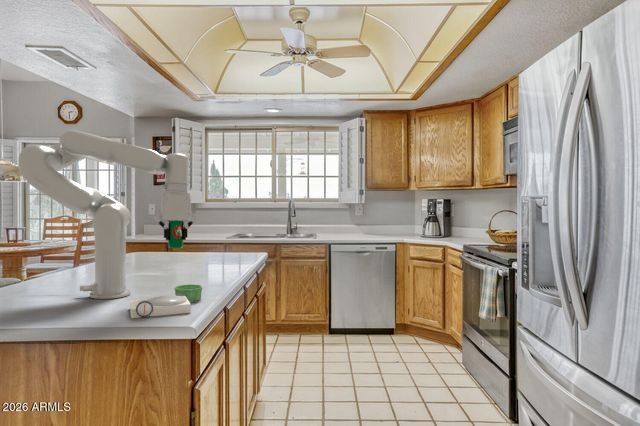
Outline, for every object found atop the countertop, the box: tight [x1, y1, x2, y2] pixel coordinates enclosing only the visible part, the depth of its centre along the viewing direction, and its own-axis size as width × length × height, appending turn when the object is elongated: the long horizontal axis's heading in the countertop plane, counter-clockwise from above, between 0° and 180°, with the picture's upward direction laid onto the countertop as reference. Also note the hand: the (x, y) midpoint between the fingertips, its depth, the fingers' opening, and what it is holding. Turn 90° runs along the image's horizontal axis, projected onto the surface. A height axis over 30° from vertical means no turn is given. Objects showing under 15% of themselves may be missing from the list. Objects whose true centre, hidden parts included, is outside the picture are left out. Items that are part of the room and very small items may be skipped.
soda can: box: [167, 220, 184, 249], centre depth 148 cm, size 5×5×12 cm
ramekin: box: [173, 283, 203, 303], centre depth 139 cm, size 9×9×4 cm
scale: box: [129, 295, 192, 319], centre depth 124 cm, size 16×13×4 cm
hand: (175, 239), depth 148 cm, fingers closed on soda can, 5 cm apart
